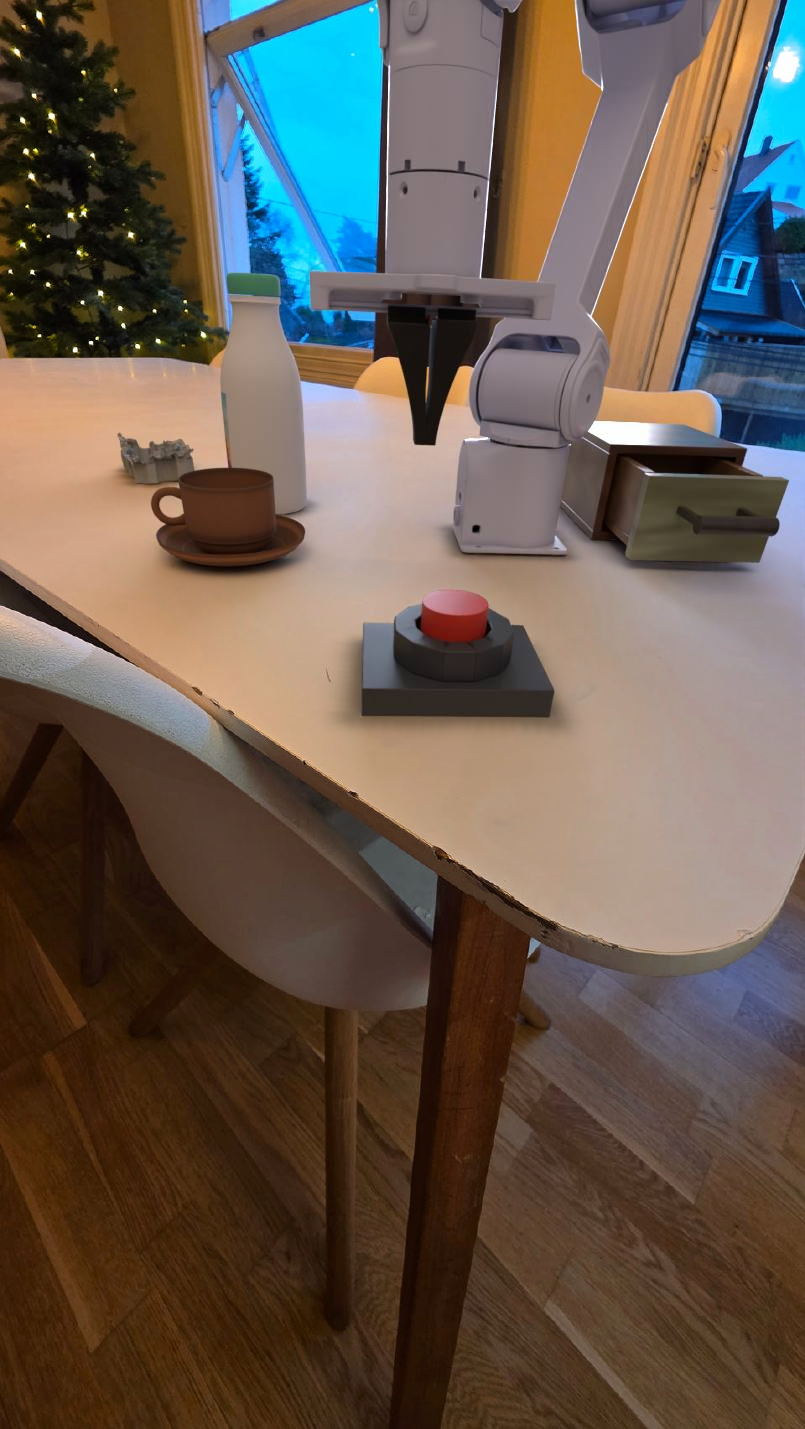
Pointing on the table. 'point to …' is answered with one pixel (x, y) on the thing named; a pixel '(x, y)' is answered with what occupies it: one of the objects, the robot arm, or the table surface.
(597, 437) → the cabinet
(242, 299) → the milk bottle
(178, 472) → the egg carton
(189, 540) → the cup and saucer
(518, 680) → the control block
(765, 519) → the drawer
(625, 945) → the table surface
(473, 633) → the button
